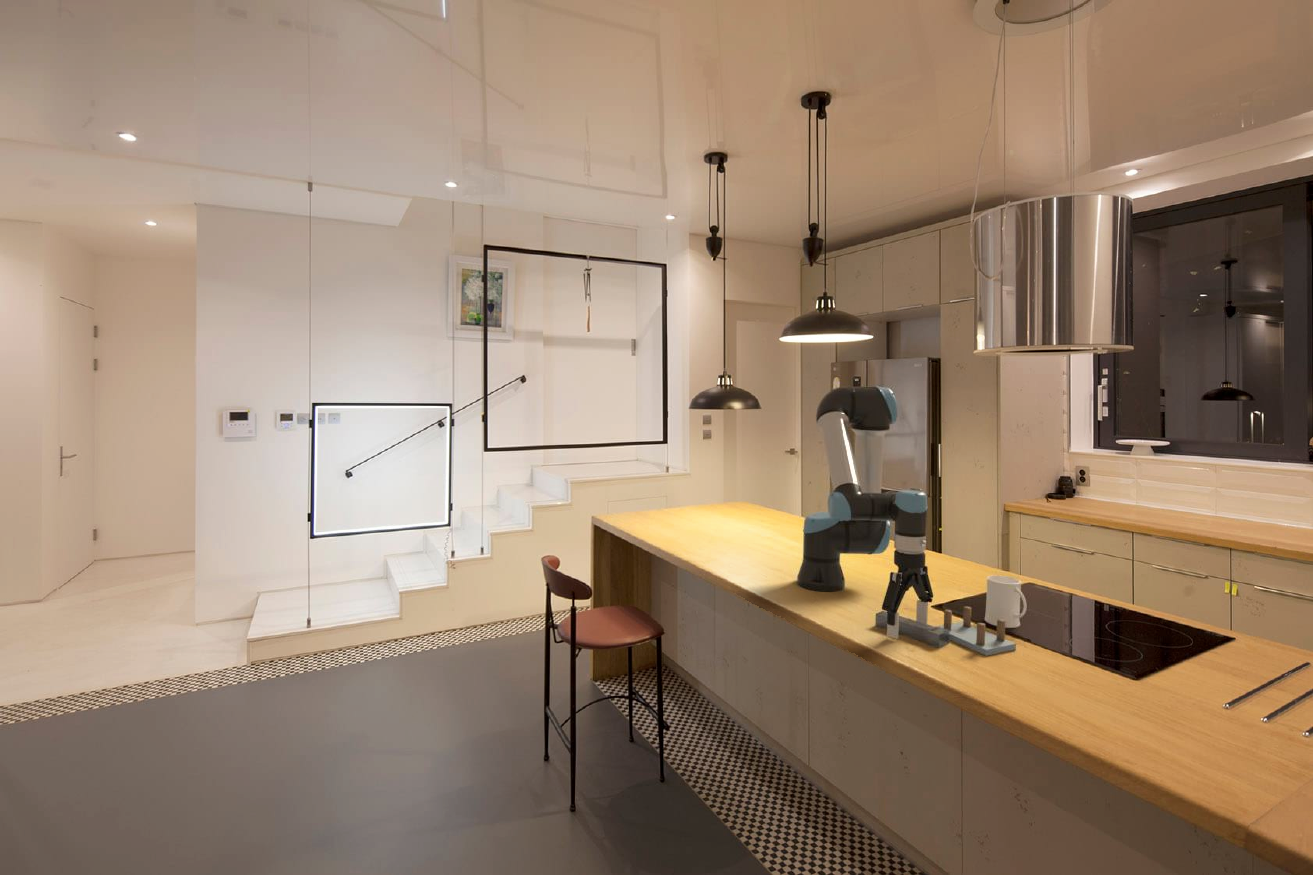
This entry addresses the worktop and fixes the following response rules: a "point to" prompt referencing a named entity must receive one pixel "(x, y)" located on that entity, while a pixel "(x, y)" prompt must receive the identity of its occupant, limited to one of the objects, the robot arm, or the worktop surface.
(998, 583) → the mug
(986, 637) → the peg rack
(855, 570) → the worktop surface
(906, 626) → the spanner bar
